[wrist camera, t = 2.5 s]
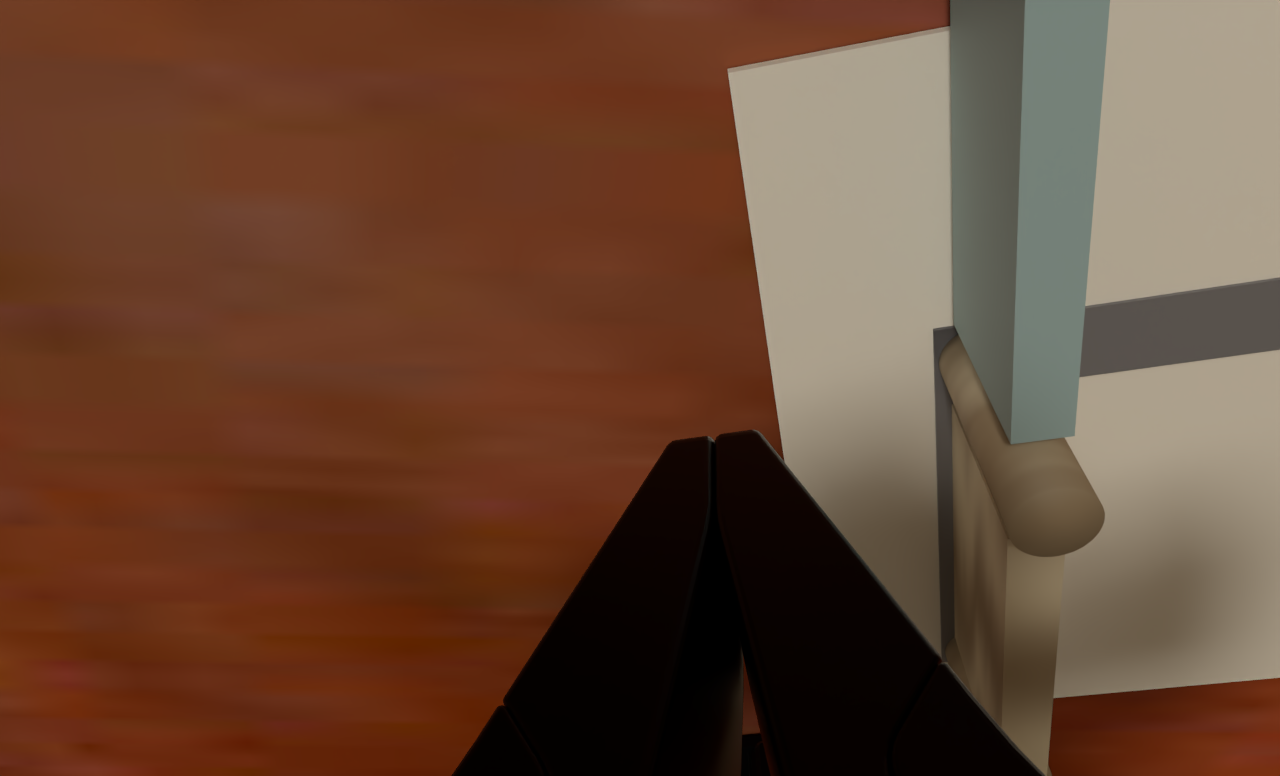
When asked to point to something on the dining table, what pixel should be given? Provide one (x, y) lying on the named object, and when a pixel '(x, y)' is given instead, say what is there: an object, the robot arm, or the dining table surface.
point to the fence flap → (1025, 199)
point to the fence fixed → (1010, 557)
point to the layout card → (1111, 346)
